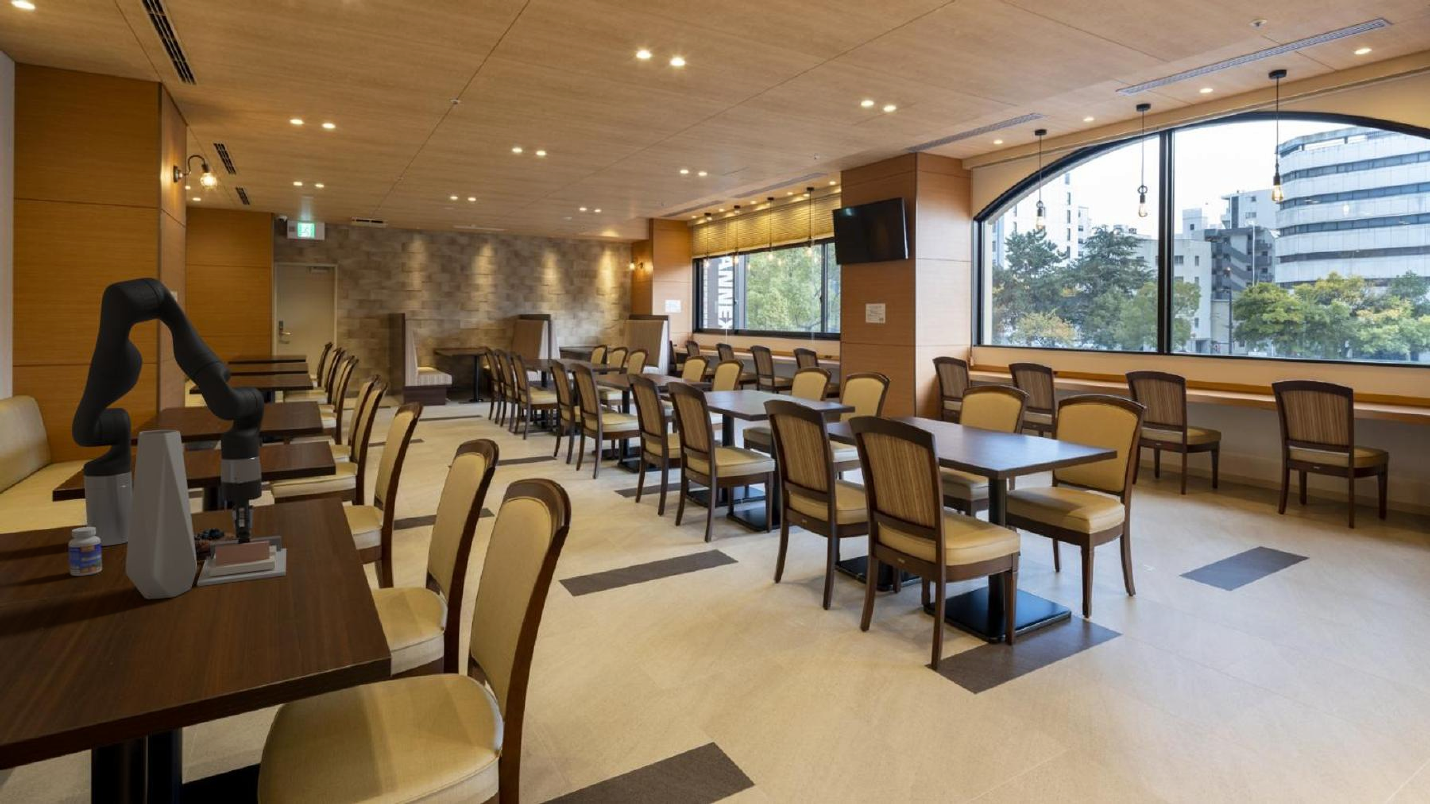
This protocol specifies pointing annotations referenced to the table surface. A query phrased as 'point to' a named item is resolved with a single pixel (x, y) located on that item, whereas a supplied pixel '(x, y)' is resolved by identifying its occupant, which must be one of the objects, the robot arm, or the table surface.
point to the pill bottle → (85, 552)
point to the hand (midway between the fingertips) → (244, 554)
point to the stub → (242, 558)
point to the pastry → (210, 541)
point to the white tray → (278, 571)
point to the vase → (160, 519)
